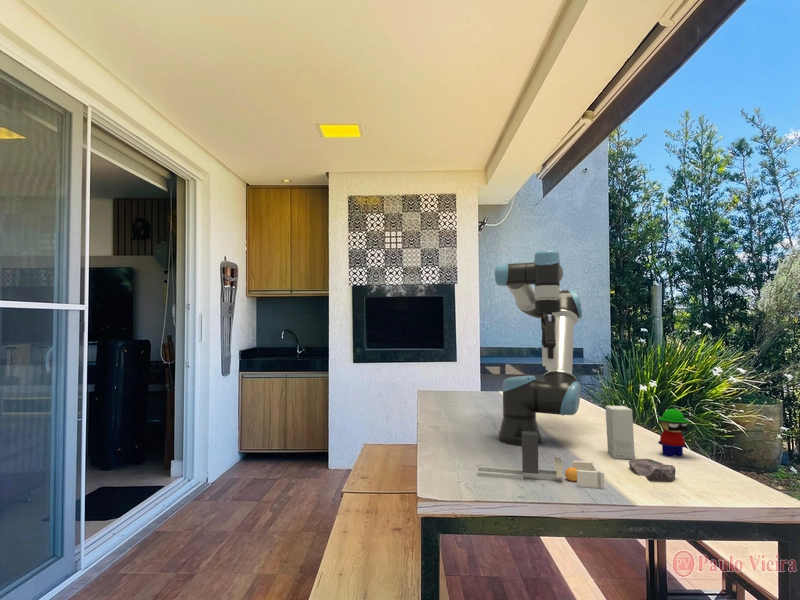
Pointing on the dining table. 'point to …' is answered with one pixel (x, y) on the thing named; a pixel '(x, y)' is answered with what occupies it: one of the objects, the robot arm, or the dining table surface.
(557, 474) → the dark textured box
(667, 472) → the rock
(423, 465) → the dining table surface
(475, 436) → the dining table surface
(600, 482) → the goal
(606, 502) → the dining table surface
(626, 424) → the skincare box
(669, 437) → the toy
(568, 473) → the ball
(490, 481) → the dining table surface
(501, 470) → the pitch
